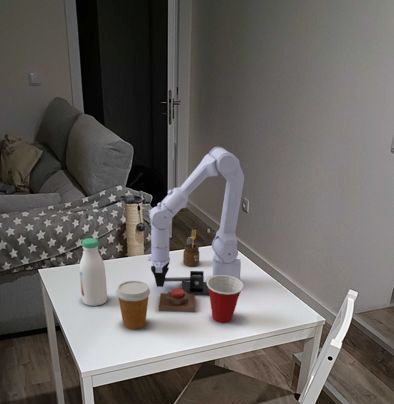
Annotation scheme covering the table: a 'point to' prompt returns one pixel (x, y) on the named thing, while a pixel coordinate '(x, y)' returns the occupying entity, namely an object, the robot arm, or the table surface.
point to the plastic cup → (223, 296)
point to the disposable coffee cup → (133, 303)
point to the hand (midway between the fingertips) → (160, 284)
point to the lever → (179, 278)
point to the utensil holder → (191, 253)
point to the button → (177, 293)
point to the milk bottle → (92, 274)
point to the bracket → (196, 284)
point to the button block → (177, 303)
